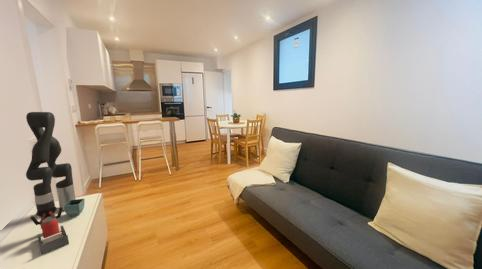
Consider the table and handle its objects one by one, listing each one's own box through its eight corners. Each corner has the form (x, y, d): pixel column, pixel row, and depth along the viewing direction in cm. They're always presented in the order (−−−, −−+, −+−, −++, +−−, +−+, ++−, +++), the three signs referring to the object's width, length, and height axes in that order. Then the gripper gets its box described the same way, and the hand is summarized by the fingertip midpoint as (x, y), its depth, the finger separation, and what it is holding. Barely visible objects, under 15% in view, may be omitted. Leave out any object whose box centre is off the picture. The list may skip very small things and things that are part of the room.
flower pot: (86, 209, 141) (84, 198, 140) (80, 216, 133) (79, 204, 132) (71, 211, 139) (69, 200, 137) (65, 218, 131) (62, 206, 129)
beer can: (42, 244, 107) (38, 224, 105) (47, 237, 113) (43, 218, 111) (58, 240, 110) (54, 221, 108) (62, 233, 116) (58, 214, 114)
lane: (38, 239, 111) (36, 231, 110) (63, 230, 119) (62, 222, 118) (40, 255, 99) (39, 246, 99) (69, 243, 108) (67, 235, 107)
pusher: (43, 245, 106) (42, 239, 105) (62, 238, 112) (61, 231, 111) (43, 246, 106) (42, 239, 105) (62, 238, 111) (61, 232, 111)
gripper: (60, 194, 122) (64, 219, 125) (26, 203, 112) (32, 230, 114) (62, 198, 117) (66, 224, 120) (27, 207, 107) (32, 236, 110)
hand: (49, 227), depth 117 cm, fingers closed on jar, 4 cm apart
